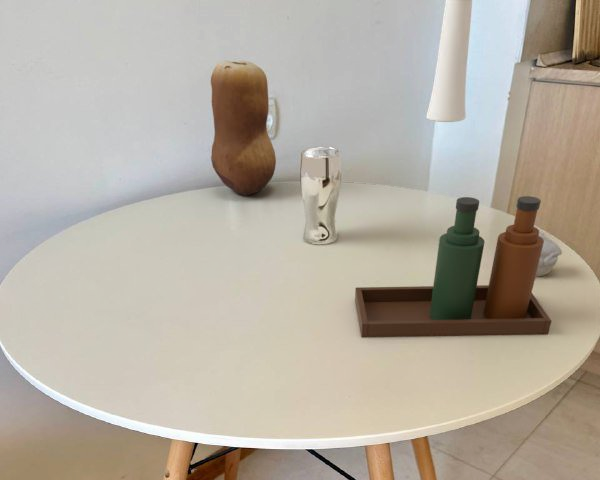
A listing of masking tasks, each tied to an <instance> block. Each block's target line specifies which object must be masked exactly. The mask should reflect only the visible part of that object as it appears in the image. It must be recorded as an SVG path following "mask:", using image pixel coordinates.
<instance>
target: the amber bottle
mask: <svg viewBox="0 0 600 480" xmlns="http://www.w3.org/2000/svg"><path fill="white" fill-rule="evenodd" d="M541 202H542V200H541V199H540V198H538V197H536V196H529V195H523V196H519V197H518V198H517V201H516V212H515V215H514V216H515V217H514V222H513V224H510V225H508V226H507V227H506V228H505V231H504V232H501V233H499V235H498V236H497V241H496V244H495V245H496V246H495V251H494V256H493V261H492V267H491V271H490V277H489V282H488V285H489V286H488V292H487V297H486V302H485V307H484V312H483V313H484V316H485V317H486V318H487V319H524V318H526V314H527V309H528V305H529V301H530V297H531V293H532V294H533V288H534V284H535V281H536V277H537V276H536V272H537V268H538V264H539V260H540V256H541V252H542V248H543V244H544V240H543V238H541V237H540V236H539V232H540V230H539V229H538V228H537V227H536V226H535V223H536V219H537V214H538V210H540V207H541Z"/></svg>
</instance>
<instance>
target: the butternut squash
mask: <svg viewBox="0 0 600 480" xmlns="http://www.w3.org/2000/svg"><path fill="white" fill-rule="evenodd" d="M210 87H211V109H212V116H213V128H214V136H213V143H212V145H211V146H212V147H211V156H210V160H211V165H212V168H213V170H214V172H215V173H216V175H217V176H218V177H219V179H220V180H221V182H222V183H223V184H224V185H225V186H226V187H227V188H229V189H230V190H232V191H233V192H234V193H235V194H237V195H240V196H244V197H247V196H250V195H252V194H254V193H258V192H260V191H261V190H263V189H264V188H265V187H266V186H267V185H268V183H270V181H271V180H272V178H273V176H274V174H275V171H276V163H277V161H276V160H277V159H276V152H275V148H274V145H273V143H272V140H271V139H270V136H269V133H268V129H267V123H268V118H269V117H268V116H269V109H270V108H269V102H270V101H269V88H268V77H267V75H266V73H265V71H264V70H263V69H262V68H261V67H260V66H259V65H257V64H256V63H253V62H251V61H247V60H238V61H237V60H236V61H230V60H222V61H220V62H218V63H217V64H216V65H215V66H214V68H213V71H212V73H211V76H210Z"/></svg>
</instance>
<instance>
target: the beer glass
mask: <svg viewBox="0 0 600 480" xmlns="http://www.w3.org/2000/svg"><path fill="white" fill-rule="evenodd" d="M341 160H342V159H341V150H340V149H339V148H337V147H332V146H312V147H306V148H304V149H302V150H301V153H300V168H299V169H300V172H299V173H300V174H299V178H300V179H299V181H300V191H301V197H302V198H301V199H302V203H303V209H304V216H305V217H304V218H305V224H304V230H303V240H304V241H305V242H306V243H308V244H311V245H321V246H322V245H329V244H332V243H334V242H336V241H337V239H338V233H337V227H336V213H337V208H338V204H339V197H340V192H341V186H342V185H341V184H342V162H341Z"/></svg>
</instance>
